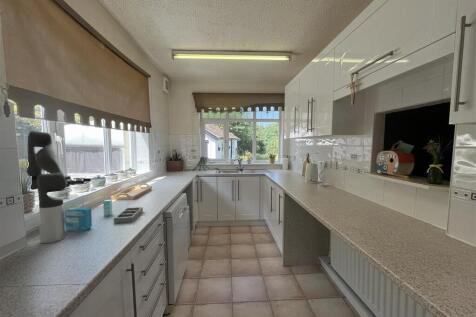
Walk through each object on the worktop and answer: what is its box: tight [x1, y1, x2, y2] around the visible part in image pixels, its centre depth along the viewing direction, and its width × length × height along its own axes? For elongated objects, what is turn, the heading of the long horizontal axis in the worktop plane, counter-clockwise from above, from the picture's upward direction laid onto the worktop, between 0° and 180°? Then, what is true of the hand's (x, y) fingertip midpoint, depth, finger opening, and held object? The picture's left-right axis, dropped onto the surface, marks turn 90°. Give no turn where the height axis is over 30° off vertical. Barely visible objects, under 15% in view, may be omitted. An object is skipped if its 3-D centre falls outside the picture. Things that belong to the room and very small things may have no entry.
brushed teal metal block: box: [102, 199, 113, 217], centre depth 150 cm, size 4×4×10 cm
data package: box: [64, 206, 93, 232], centre depth 125 cm, size 12×4×12 cm, turn 89°
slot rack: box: [113, 206, 144, 224], centre depth 146 cm, size 22×11×4 cm, turn 8°
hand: (87, 180), depth 148 cm, fingers open, 8 cm apart
